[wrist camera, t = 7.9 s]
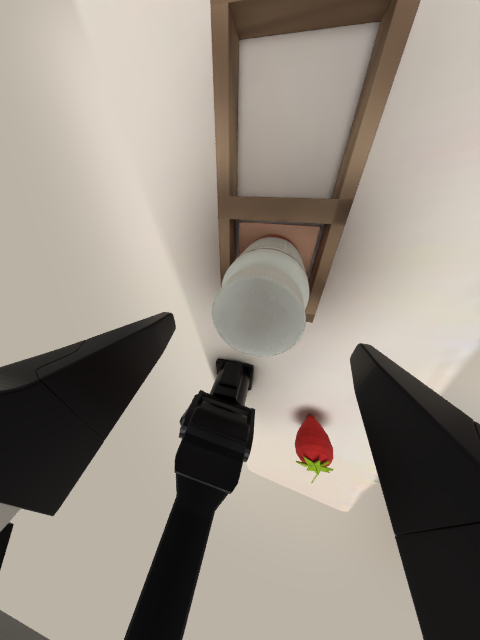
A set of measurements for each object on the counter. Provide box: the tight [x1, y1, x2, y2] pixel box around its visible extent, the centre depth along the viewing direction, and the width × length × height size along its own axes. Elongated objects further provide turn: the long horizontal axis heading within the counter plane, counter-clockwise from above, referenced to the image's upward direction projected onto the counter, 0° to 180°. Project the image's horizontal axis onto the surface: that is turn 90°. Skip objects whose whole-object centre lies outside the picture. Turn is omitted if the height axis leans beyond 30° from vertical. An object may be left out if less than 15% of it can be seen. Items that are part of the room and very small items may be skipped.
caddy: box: [210, 0, 421, 322], centre depth 15 cm, size 20×10×2 cm, turn 178°
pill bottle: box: [212, 235, 309, 356], centre depth 14 cm, size 6×6×11 cm
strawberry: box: [295, 415, 333, 483], centre depth 29 cm, size 6×8×10 cm
